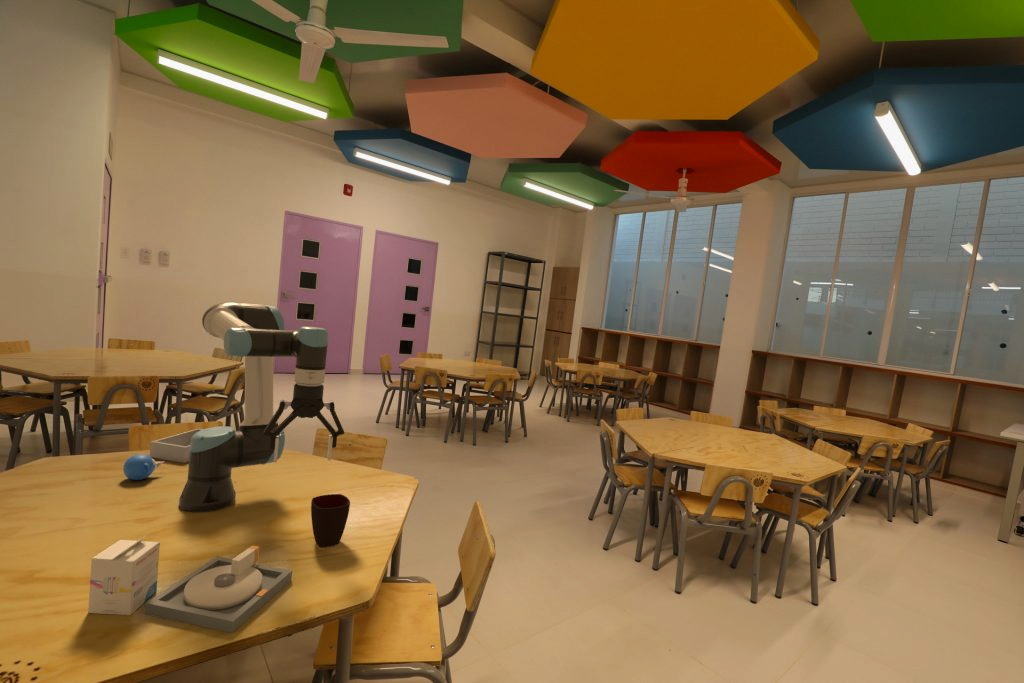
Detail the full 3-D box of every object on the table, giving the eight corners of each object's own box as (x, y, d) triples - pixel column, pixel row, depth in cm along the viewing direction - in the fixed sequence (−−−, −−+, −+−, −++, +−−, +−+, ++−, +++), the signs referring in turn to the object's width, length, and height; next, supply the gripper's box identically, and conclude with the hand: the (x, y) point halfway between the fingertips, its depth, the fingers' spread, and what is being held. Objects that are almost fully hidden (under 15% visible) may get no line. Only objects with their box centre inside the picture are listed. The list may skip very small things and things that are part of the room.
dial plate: (144, 614, 99) (145, 602, 99) (216, 565, 119) (217, 555, 119) (232, 633, 97) (233, 620, 97) (291, 580, 117) (292, 569, 116)
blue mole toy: (172, 478, 168) (173, 455, 167) (130, 487, 158) (132, 461, 157) (156, 469, 174) (158, 446, 174) (116, 477, 164) (117, 452, 164)
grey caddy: (149, 457, 185) (150, 441, 185) (196, 442, 208) (197, 428, 208) (184, 462, 183) (185, 447, 183) (228, 447, 206) (229, 433, 206)
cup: (313, 554, 129) (317, 510, 129) (300, 532, 140) (304, 492, 140) (350, 546, 135) (354, 505, 135) (335, 526, 146) (338, 487, 146)
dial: (230, 615, 99) (232, 591, 99) (165, 602, 102) (167, 578, 101) (282, 572, 117) (284, 551, 116) (226, 561, 119) (227, 540, 119)
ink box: (117, 589, 106) (121, 530, 106) (157, 591, 107) (161, 533, 106) (86, 614, 98) (90, 550, 97) (130, 616, 98) (134, 552, 98)
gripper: (257, 384, 123) (250, 466, 124) (358, 387, 134) (351, 462, 135) (258, 379, 129) (252, 457, 131) (354, 382, 140) (348, 454, 142)
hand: (302, 459), depth 133 cm, fingers open, 13 cm apart
